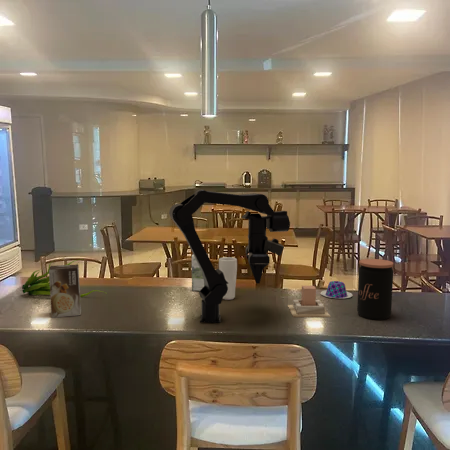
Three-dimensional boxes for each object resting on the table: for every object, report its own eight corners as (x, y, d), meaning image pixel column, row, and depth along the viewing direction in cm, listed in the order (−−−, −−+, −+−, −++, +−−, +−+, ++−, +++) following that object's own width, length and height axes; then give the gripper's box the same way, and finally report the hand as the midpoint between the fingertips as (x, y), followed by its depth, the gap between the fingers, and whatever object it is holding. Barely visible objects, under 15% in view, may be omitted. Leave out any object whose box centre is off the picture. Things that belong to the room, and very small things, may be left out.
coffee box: (81, 309, 149) (79, 263, 147) (80, 315, 143) (78, 267, 141) (52, 312, 147) (50, 265, 145) (50, 318, 140) (48, 269, 139)
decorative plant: (66, 311, 148) (64, 268, 146) (19, 296, 166) (17, 258, 164) (108, 298, 163) (107, 260, 161) (61, 286, 180) (60, 251, 178)
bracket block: (315, 312, 146) (315, 288, 145) (303, 311, 146) (303, 288, 145) (312, 308, 150) (313, 285, 149) (301, 308, 150) (301, 285, 149)
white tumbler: (237, 295, 166) (237, 257, 165) (236, 301, 160) (236, 260, 158) (219, 295, 167) (219, 256, 165) (217, 300, 160) (217, 260, 158)
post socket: (330, 317, 142) (330, 308, 142) (293, 317, 142) (293, 308, 141) (321, 306, 154) (321, 297, 153) (287, 306, 154) (287, 297, 153)
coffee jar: (350, 312, 147) (352, 259, 145) (376, 308, 151) (378, 257, 149) (371, 322, 137) (373, 266, 135) (398, 318, 141) (401, 263, 139)
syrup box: (207, 287, 178) (207, 252, 176) (205, 291, 172) (205, 255, 170) (194, 287, 178) (193, 252, 177) (191, 291, 172) (191, 255, 171)
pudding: (328, 289, 176) (329, 277, 176) (357, 295, 169) (358, 282, 168) (314, 296, 167) (315, 283, 166) (344, 302, 160) (344, 288, 159)
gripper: (286, 236, 131) (285, 287, 133) (278, 228, 150) (277, 273, 151) (249, 236, 131) (249, 287, 133) (245, 228, 149) (245, 273, 151)
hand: (256, 279), depth 142 cm, fingers open, 9 cm apart
